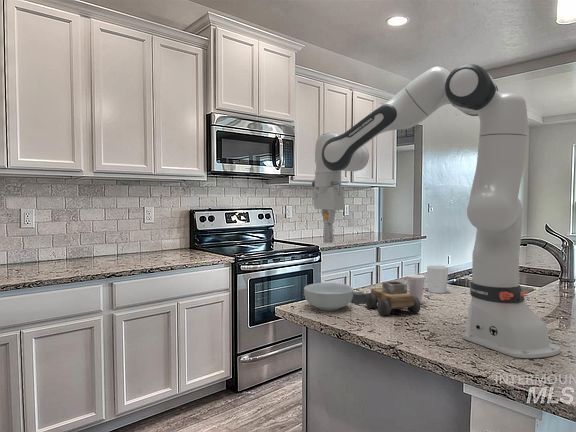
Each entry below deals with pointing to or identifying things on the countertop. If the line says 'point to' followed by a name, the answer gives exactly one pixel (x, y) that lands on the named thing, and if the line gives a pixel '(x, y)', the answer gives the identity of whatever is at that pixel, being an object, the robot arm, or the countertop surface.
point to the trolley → (392, 298)
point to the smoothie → (416, 284)
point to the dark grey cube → (358, 298)
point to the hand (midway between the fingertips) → (328, 223)
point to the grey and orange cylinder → (328, 230)
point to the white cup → (437, 278)
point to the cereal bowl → (328, 295)
